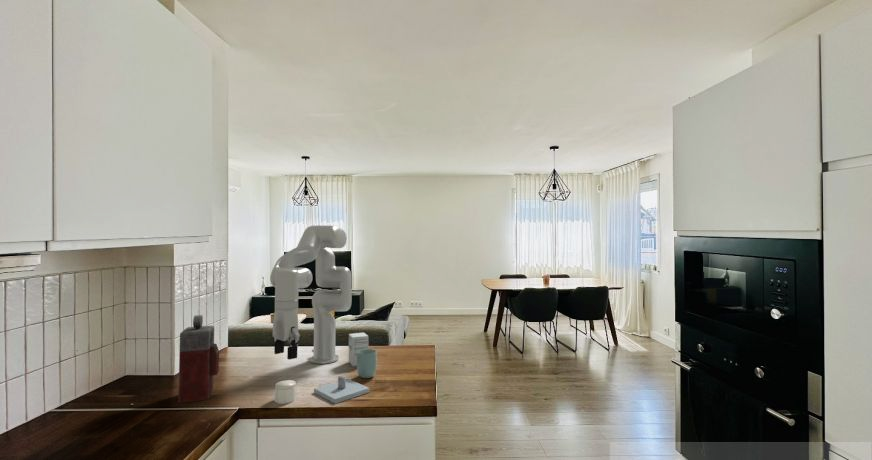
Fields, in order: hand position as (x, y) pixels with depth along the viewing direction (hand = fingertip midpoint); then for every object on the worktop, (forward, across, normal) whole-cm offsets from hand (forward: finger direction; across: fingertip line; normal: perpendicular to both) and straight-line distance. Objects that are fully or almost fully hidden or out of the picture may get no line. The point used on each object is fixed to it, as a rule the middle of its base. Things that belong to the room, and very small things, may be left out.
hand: (285, 355), depth 134 cm
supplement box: (+14, -16, +42) cm, 47 cm away
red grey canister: (+15, -26, -18) cm, 35 cm away
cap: (+15, 0, 0) cm, 15 cm away
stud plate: (+15, +8, +18) cm, 24 cm away
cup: (+15, 0, +34) cm, 37 cm away
